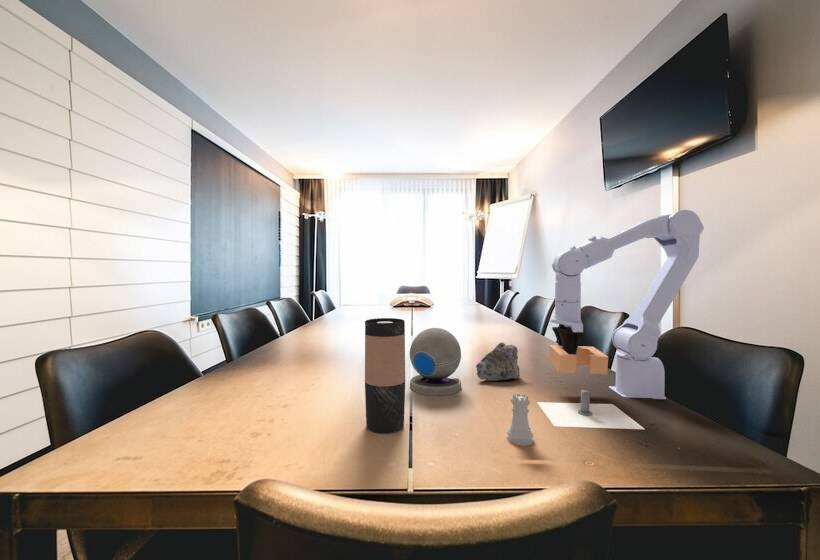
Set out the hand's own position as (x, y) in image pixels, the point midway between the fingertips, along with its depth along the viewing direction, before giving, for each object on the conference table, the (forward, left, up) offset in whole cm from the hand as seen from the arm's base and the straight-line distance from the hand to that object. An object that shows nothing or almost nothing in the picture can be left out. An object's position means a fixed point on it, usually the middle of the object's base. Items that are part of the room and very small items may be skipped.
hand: (567, 357), depth 91 cm
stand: (+2, +16, -8) cm, 18 cm away
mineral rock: (+15, -10, -9) cm, 20 cm away
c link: (-1, +3, -2) cm, 3 cm away
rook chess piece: (+17, +29, -9) cm, 34 cm away
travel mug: (+41, +24, -9) cm, 48 cm away
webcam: (+32, -1, -9) cm, 33 cm away
